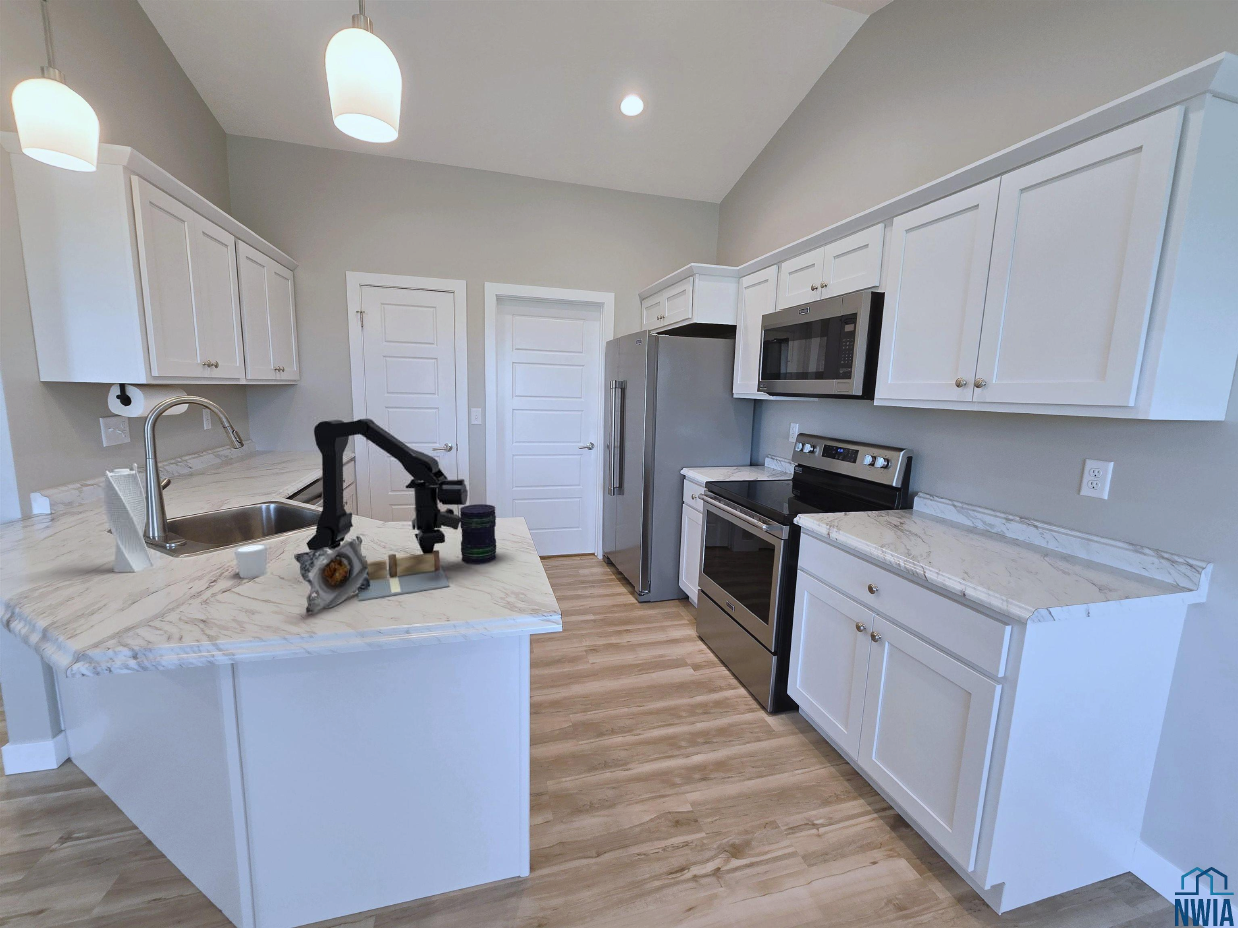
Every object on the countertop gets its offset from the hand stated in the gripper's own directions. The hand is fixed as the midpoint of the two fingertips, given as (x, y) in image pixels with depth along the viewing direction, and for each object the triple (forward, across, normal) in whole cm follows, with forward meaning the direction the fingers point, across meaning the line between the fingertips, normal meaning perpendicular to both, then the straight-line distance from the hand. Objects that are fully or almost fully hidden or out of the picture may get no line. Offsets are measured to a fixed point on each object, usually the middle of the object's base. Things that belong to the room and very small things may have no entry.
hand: (428, 560), depth 135 cm
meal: (+2, -13, +21) cm, 25 cm away
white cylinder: (+2, +15, +41) cm, 44 cm away
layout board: (+2, -6, +7) cm, 10 cm away
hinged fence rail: (+2, -3, +4) cm, 5 cm away
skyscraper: (+2, +32, +69) cm, 76 cm away
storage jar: (+2, +3, -14) cm, 14 cm away
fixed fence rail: (+2, -3, +14) cm, 14 cm away
